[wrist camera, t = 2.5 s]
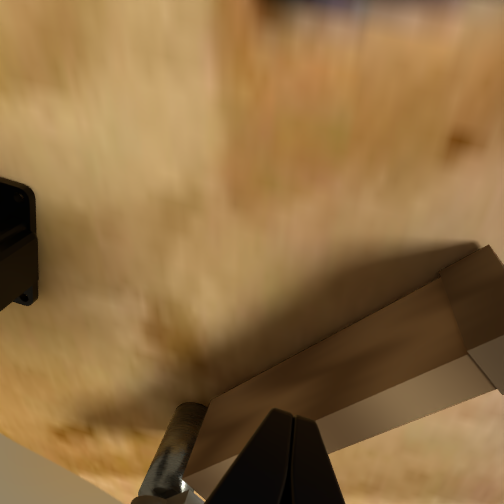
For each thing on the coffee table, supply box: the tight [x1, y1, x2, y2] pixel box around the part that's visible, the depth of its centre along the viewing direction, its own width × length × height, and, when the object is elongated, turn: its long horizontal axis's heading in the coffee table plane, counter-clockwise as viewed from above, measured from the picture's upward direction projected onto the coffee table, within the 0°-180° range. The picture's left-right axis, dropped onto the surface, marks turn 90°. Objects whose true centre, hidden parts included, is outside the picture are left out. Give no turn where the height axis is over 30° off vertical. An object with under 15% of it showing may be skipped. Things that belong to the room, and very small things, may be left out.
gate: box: [131, 245, 504, 504], centre depth 18 cm, size 18×3×6 cm, turn 131°
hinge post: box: [138, 403, 208, 499], centre depth 22 cm, size 2×2×5 cm
